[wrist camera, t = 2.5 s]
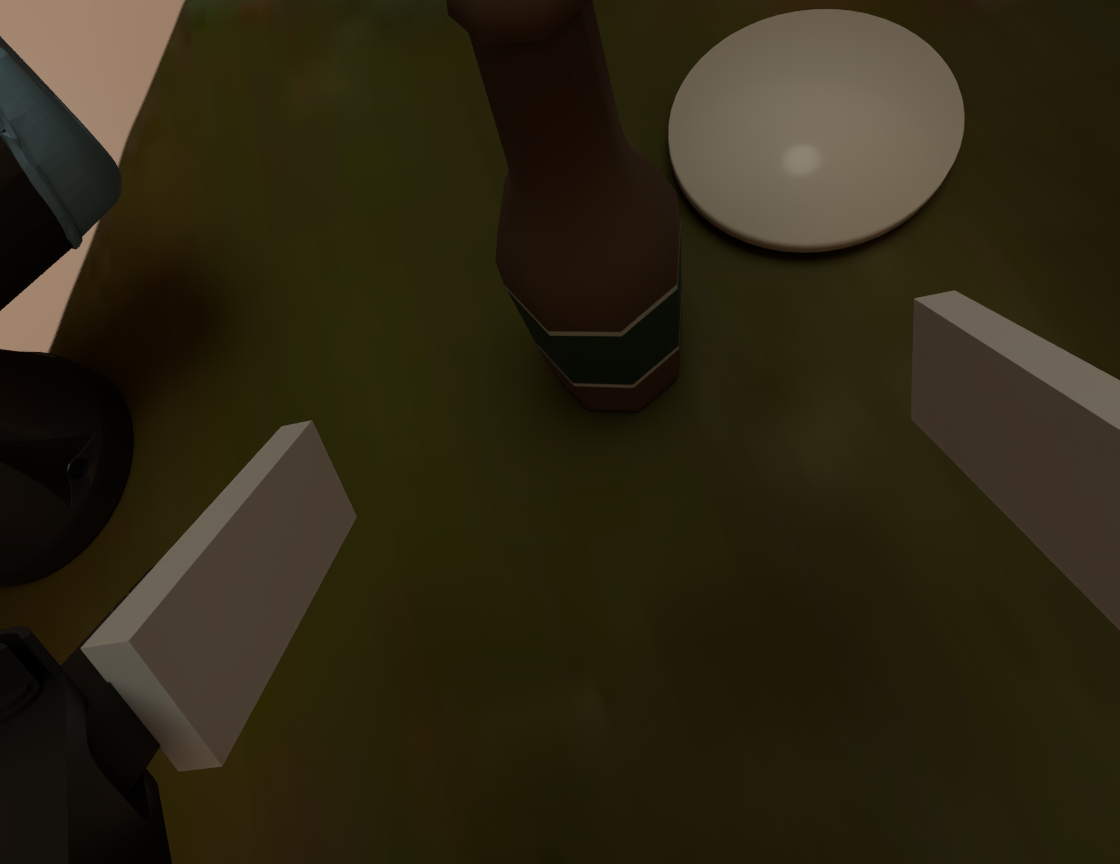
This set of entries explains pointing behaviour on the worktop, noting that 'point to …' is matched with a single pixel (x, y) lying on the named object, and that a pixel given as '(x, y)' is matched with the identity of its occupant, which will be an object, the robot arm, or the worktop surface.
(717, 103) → the dish
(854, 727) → the worktop surface
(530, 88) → the beer bottle
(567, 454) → the worktop surface
